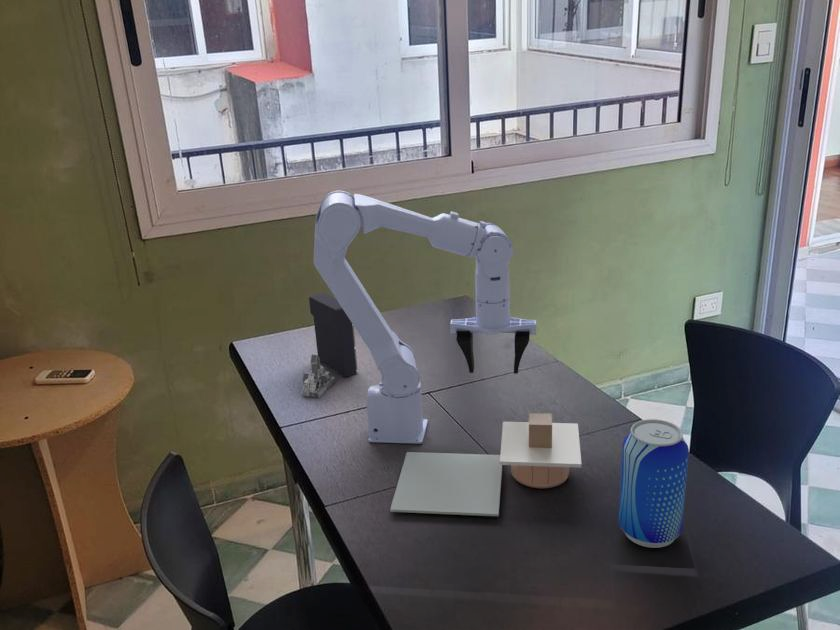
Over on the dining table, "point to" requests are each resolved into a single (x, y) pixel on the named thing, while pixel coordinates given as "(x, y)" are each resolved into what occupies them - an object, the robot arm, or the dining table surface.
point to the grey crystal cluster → (316, 379)
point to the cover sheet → (540, 454)
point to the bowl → (540, 475)
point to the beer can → (653, 483)
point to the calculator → (333, 335)
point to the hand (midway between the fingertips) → (493, 370)
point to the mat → (449, 484)
